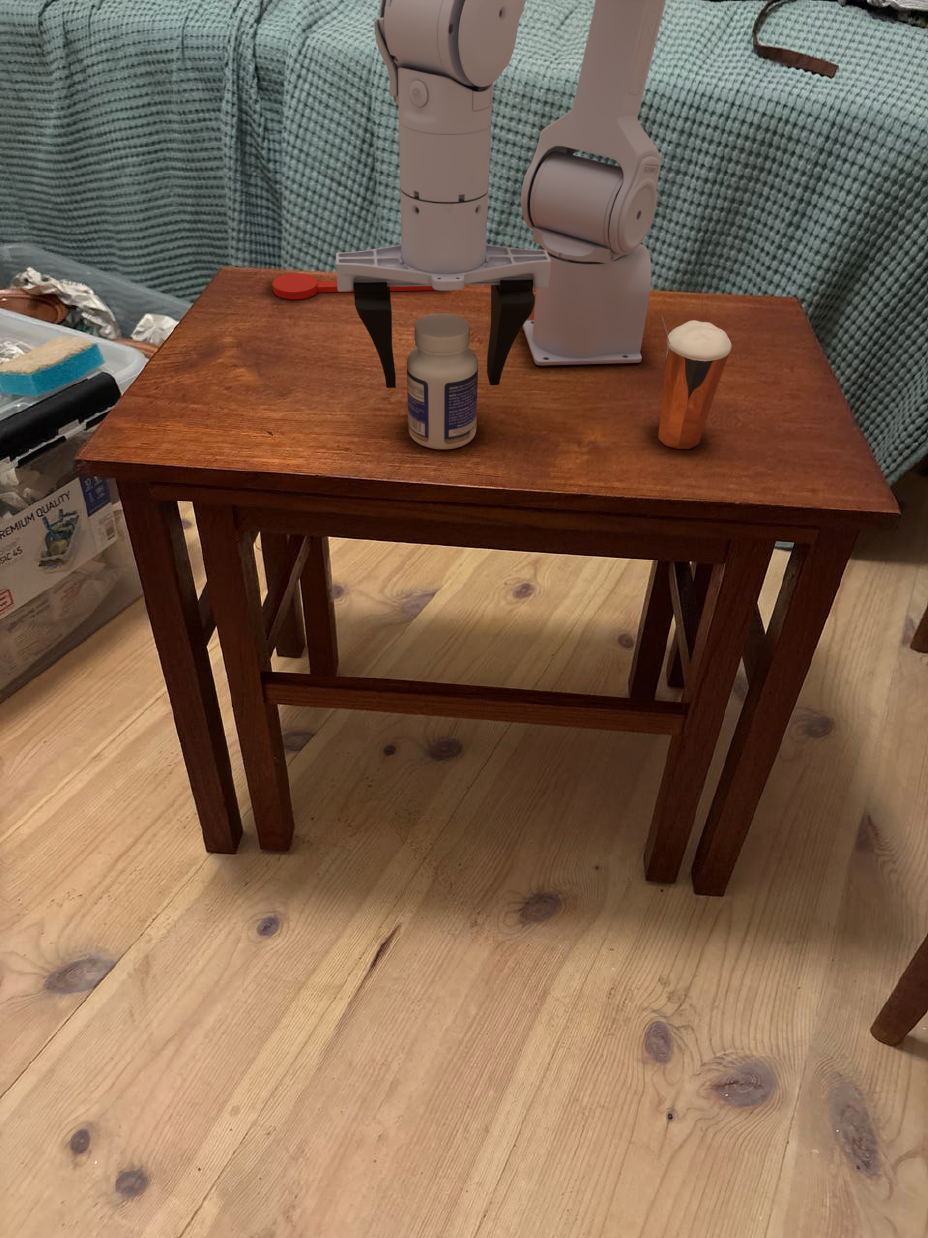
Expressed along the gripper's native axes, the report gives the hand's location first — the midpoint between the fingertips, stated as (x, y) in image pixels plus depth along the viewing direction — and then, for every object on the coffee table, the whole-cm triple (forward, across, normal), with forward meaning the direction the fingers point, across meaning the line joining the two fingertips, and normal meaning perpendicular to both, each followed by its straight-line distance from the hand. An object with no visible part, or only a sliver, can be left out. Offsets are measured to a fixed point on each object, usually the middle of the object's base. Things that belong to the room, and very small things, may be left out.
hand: (442, 380), depth 69 cm
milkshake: (+5, +18, -2) cm, 19 cm away
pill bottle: (+5, 0, 0) cm, 5 cm away
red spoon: (+4, -7, +27) cm, 28 cm away
